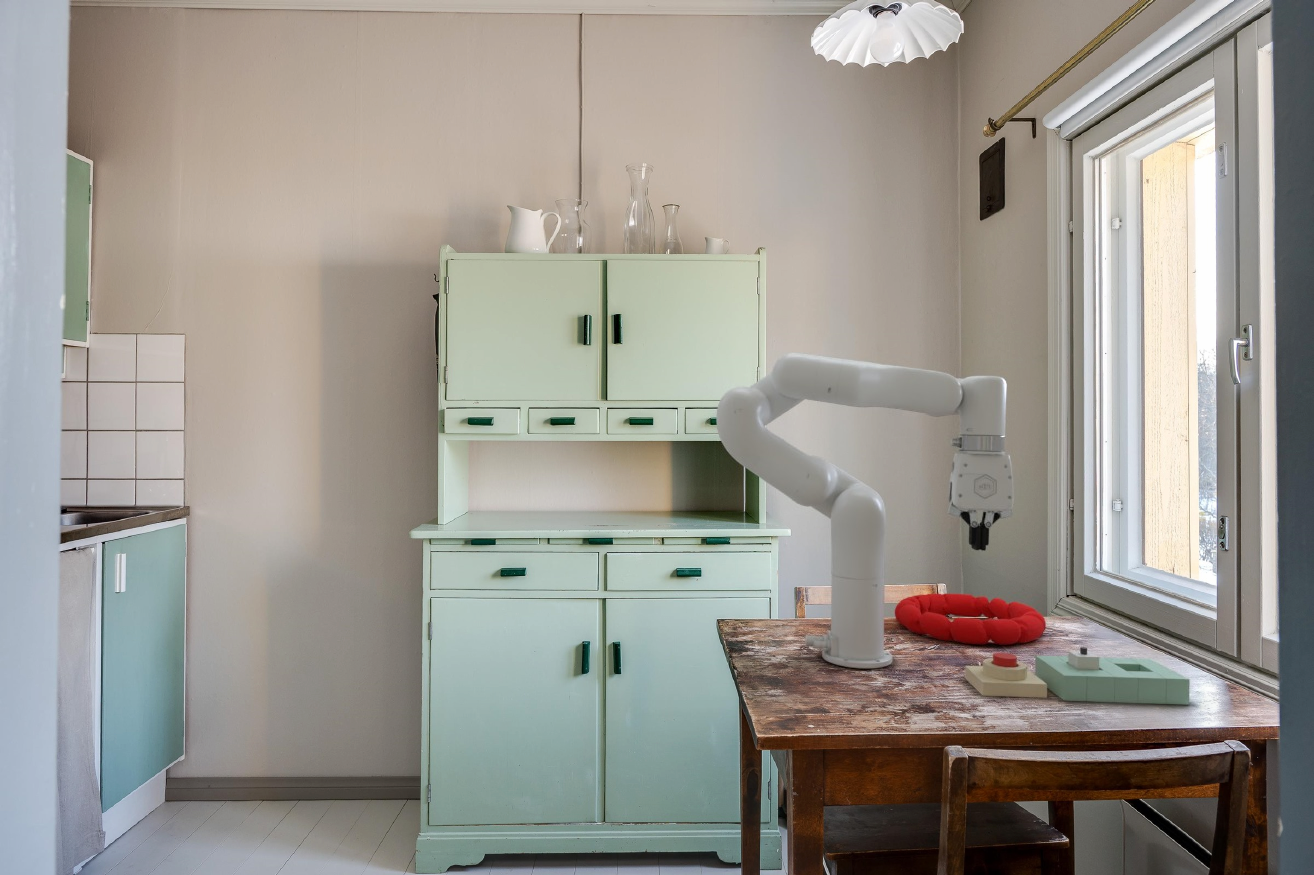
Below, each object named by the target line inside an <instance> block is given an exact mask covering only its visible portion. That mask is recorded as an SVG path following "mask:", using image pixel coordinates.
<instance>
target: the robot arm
mask: <svg viewBox="0 0 1314 875" xmlns="http://www.w3.org/2000/svg"><path fill="white" fill-rule="evenodd" d="M805 400H808V401H813V402H819V403H828V404H833V405H841V406H846V407H855V408H884V409H885V408H886V409H894V410H901V411H906V412H907V411H908V412H914V413H919V414H924V415H927V416H929V417H933V418H934V417H935V418H938V417H939V418H940V417H947V416H959V431H958V432H959V433H958V435H957V437H955V438H951V439H950V446H951V447H956V448H957V450H958V452H954V456H953V460H952V464H951V469H950V470H951V471H950V477H949V485H948V503H949V505H948V507H947V514H949V515H952V516H955V517H958V518H961V520H963V521H964V522H965V523H966V525H967V526H968V544H969V545H970V547H971V549H972V550H974V551H986V550H987V546H989V545H990V544H989V543H990V529H991V528H992V526H993V525H994V524H995V523H996V522H997V521H998V520H1000V519H1006V518H1010V517H1012V516H1013V511H1012V509H1013V508H1014V503H1015V491H1014V490H1015V489H1014V477H1013V476H1014V473H1013V465H1012V460H1011V455H1010V454H1006V452H1005V451H1006V450H1005V449H1006V422H1007V421H1006V420H1007V418H1006V416H1007V381H1006V380H1005V378H1004V377H1002V376H997V375H970V376H967V377H964V378H957V377H955V376H954V375H952V374H950V373H948V372H943V371H940V370H939V371H938V370H931V369H924V368H916V367H908V366H900V365H892V364H884V363H877V362H873V361H872V362H871V361H865V360H856V359H849V358H840V357H833V356H827V355H819V354H811V353H805V352H787V353H785V354H783V355H781V356H780V357H778V359H777V360H776V361H775V363H774V365H773V366H772V371H770V372H769V373H768V374H766V375H765V376H764V377H762V378H761V379H759V380H757V381H756V382H754V383H753V384H752V385H750V386H736V387H733V388H731V389H728V390H727V391H726V392H725V393H724V394H723V395H722V397H721V398H720V400H719V402H718V405H717V409H716V428H717V429H716V430H717V434H718V436H719V437H718V438H719V439H720V441H721V443H722V445H723V448H724V449H725V450H726V451H727V452H728V454H729V455H730V456H731V457H732V458H733V459H734V460H735V461H736V462H737V463H739V465H741V466H742V467H744V468H745V469H747V470H748V471H749V472H751V473H752V474H754V475H755V476H757V477H759V478H760V479H762V480H763V481H764V482H765V483H767V484H769V485H770V486H771V487H773V488H774V489H776V490H778V491H779V492H781V493H782V494H783V495H785V496H786V497H787V498H789V499H790V500H791V501H793V502H795V503H796V504H798V505H800V506H802V507H811V508H812V509H814V510H816V511H817V512H819V513H821V514H823V515H824V516H825V517H827V518H828V519H829V520H830V540H831V541H830V544H831V546H830V547H831V553H830V554H831V558H830V559H831V563H830V564H831V566H830V568H831V569H830V572H831V573H830V574H831V584H830V586H831V587H830V588H831V590H830V591H831V592H830V594H831V595H830V596H831V597H830V605H831V606H830V610H831V611H830V629H827V632H826V633H827V634H825V633H823V634H822V635H820V636H816V635H807V634H806V635H805V637H804V645H805V647H813V649H822V651H821V657H822V659H823V660H825V662H828V663H830V664H833V665H836V666H840V667H845V668H852V669H866V670H867V669H878V668H879V669H880V668H884V667H885V668H886V667H888V666H890V665H891V664H893V660H894V659H893V658H894V657H893V654H892V653H891V652H890V651H888V650H885V588H886V586H885V584H886V583H885V581H886V580H885V579H886V578H885V572H886V571H885V570H886V569H885V567H886V566H885V565H886V564H885V562H886V561H885V560H886V558H885V557H886V528H887V527H886V526H887V513H886V505H885V502H884V499H883V498H882V496H881V495H880V493H878V492H877V491H876V490H875V489H874V488H873V487H871V486H869V485H868V484H866V483H864V482H863V481H861V480H859V479H858V478H856V477H855V476H853V475H851V474H850V473H849V472H846V471H845V470H843V469H842V468H840V467H838V466H837V465H835V464H834V463H832V462H831V461H829V460H827V459H825V458H823V457H821V456H818V455H809V454H808V453H806V452H803V450H801V449H799V448H797V447H795V446H793V445H792V444H790V443H789V442H788V441H787V440H785V439H784V438H782V437H780V436H779V435H777V434H775V433H774V432H772V431H771V430H769V429H768V428H767V427H766V426H767V425H769V424H770V423H771V422H773V421H776V419H778V418H779V417H781V416H783V415H784V414H785V413H788V412H789V411H790V410H791V409H793V408H795V407H796V406H797V405H799V404H801V403H802V402H803V401H805ZM977 511H982V513H981V517H980V521H978V519H979V518H978V512H977Z"/></svg>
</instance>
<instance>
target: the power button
mask: <svg viewBox="0 0 1314 875" xmlns="http://www.w3.org/2000/svg"><path fill="white" fill-rule="evenodd" d="M992 658H993V664H994V665H997V666H1001V667H1017V661H1018V656H1017V655H1015V654H1013V653H1008V652H994V653H993V654H992Z"/></svg>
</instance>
